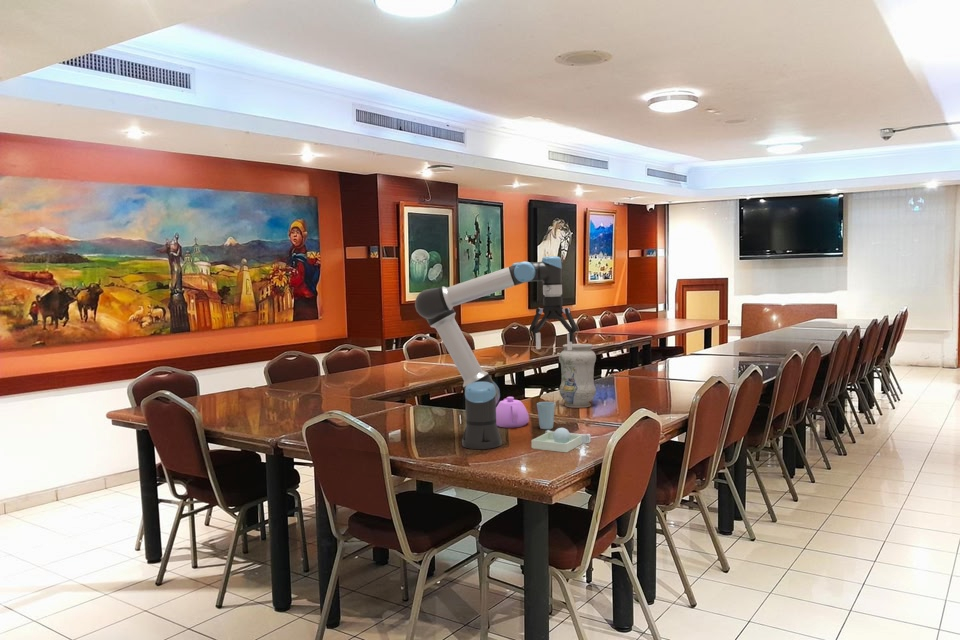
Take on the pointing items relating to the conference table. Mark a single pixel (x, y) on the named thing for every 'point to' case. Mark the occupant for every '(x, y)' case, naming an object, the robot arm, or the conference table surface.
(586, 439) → the white bar handle
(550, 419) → the cup
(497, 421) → the teapot
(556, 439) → the ball
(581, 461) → the conference table surface
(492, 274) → the robot arm
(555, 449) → the tray
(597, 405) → the conference table surface
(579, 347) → the vase
